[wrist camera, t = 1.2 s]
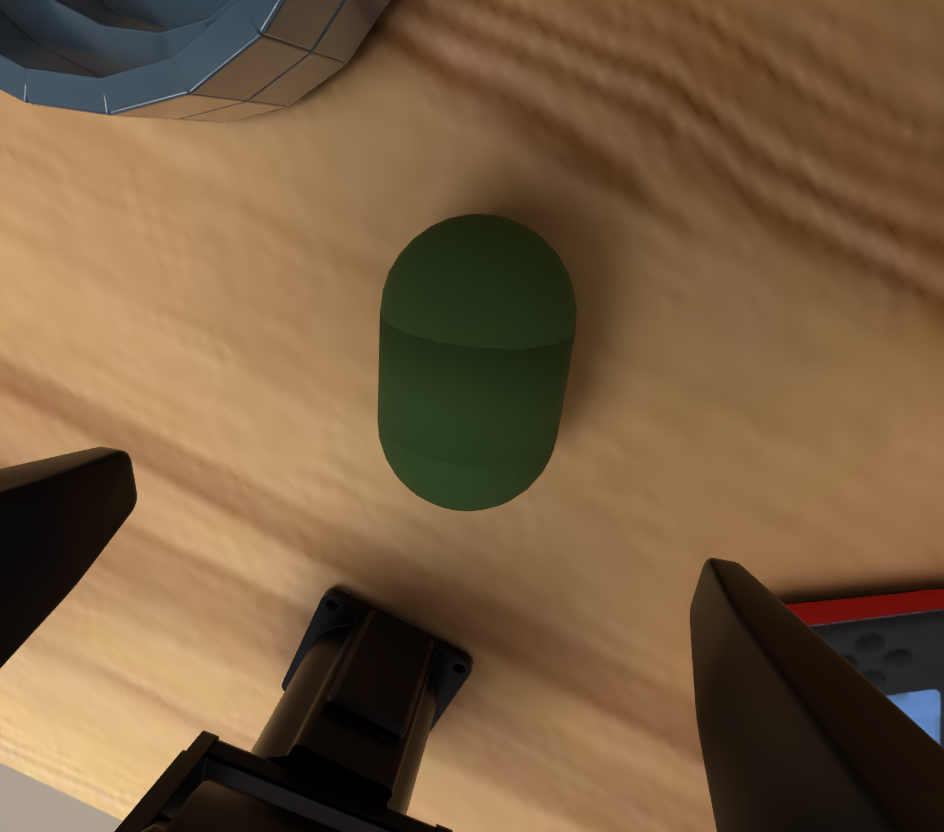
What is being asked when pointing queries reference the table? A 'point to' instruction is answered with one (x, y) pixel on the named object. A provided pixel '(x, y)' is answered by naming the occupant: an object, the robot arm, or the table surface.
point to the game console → (890, 647)
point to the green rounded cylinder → (473, 360)
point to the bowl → (176, 53)
